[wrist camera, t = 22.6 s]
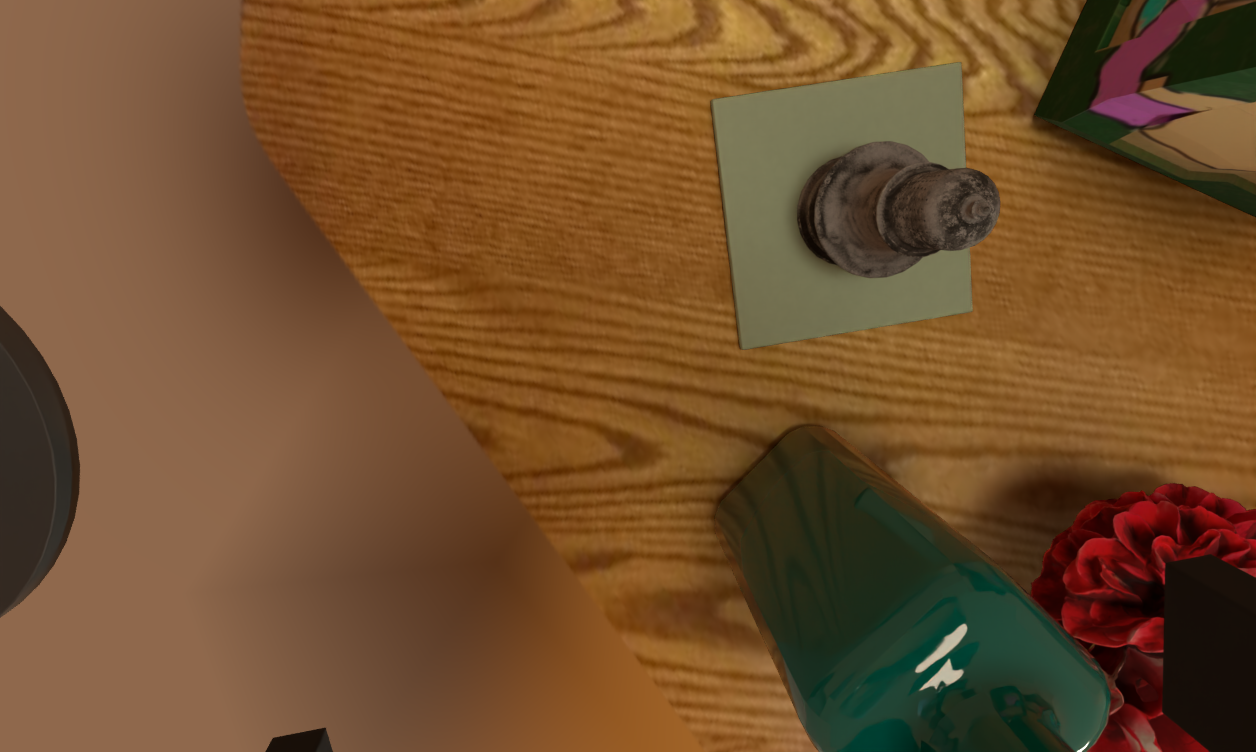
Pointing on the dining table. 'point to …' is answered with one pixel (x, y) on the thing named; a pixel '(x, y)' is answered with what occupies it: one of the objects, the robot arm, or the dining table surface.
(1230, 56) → the container
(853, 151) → the grey chess piece
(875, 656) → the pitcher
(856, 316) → the mat
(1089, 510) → the carnation
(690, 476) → the dining table surface
